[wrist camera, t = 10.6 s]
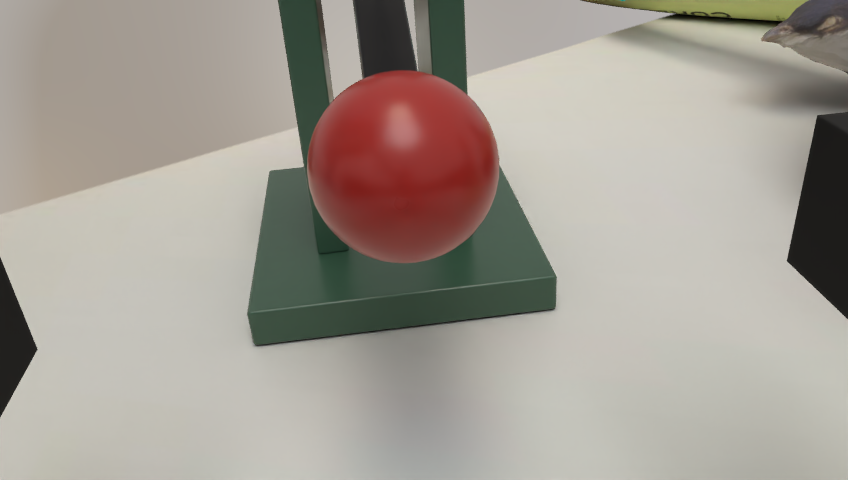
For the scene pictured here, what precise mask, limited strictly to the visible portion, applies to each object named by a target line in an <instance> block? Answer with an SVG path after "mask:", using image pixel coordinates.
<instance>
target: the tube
mask: <svg viewBox="0 0 848 480" xmlns="http://www.w3.org/2000/svg"><path fill="white" fill-rule="evenodd" d="M582 1H586V2H591V3H597V4H603V5H610V6H616V7H624V8H632V9H640V10H649V11H657V12H666V13H676V14H686V15H698V16H711V17H724V18H739V19H754V20H772V21H785V20H786V19H788V18H789V17H790V15H791V14H792V13H793V12H794V11H795V9H796V8H798V7H799V6H801V5H802V4H804V3H805V2H807V1H809V0H625V1H620V0H582Z"/></svg>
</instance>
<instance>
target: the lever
mask: <svg viewBox="0 0 848 480" xmlns="http://www.w3.org/2000/svg"><path fill="white" fill-rule="evenodd" d="M353 5H354V14H355V22H356V29H357V38H358V45H359V54H360V62H361V69H362V77H363V79H362V80H360V81H358V82H356V83H354V84H353V85H351V86H350V87H348V88H347V89H346V90H344V91H343V92H342V93H340V94H339V95H338V96H337V97H336V98H335V99H334V100H333V101H332V102H331V103H330V105H329V106H328V107H327V108H326V110H325V111H324V112H323V114H322V116H321V118H320V119H319V121H318V123H317V125H316V127H315V129H314V132H313V135H312V138H311V141H310V145H309V150H308V158H307V175H308V182H309V188H310V192H311V195H312V198H313V201H314V204H315V206H316V208H317V210H318V212H319V214H320V216H321V217H322V219H323V221H324V222H325V223H326V225H327V226H328V227H329V229H330V230H331V231H332V232H333V233H334V234H335V235H336V236H337V237H338V238H339V239H340V240H341V241H342V242H344V243H345V244H346V245H348V246H349V247H351V248H352V249H354V250H356V251H358V252H359V253H361V254H363V255H365V256H368V257H370V258H373V259H377V260H380V261H385V262H391V263H416V262H421V261H427V260H430V259H434V258H437V257H439V256H441V255H444V254H446V253H448V252H450V251H451V250H453V249H455V248H456V247H457V246H459V245H460V244H462V243H463V242H464V241H466V240H467V239H468V238H469V237H470V236H471V235H472V234H473V233H474V232H475V231H476V229H477V228H478V227H479V225H480V224H481V223H482V222H483V220H484V219H485V217H486V215H487V213H488V212H489V210H490V207H491V205H492V203H493V200H494V197H495V195H496V190H497V185H498V180H499V155H498V149H497V144H496V140H495V137H494V134H493V131H492V129H491V126H490V124H489V122H488V121H487V119H486V117H485V115H484V114H483V112H482V111H481V110H480V108H479V107H478V106H477V104H476V103H475V102H474V101H473V100H472V99H471V98H470V97H469V96H468V95H467V94H466V93H465V92H463V91H462V90H461V89H459V88H458V87H457V86H455V85H453V84H452V83H450V82H448V81H446V80H444V79H442V78H440V77H437V76H435V75H432V74H428V73H424V72H419V71H417V66H416V60H415V55H414V50H413V45H412V39H411V34H410V28H409V23H408V18H407V13H406V7H405V2H404V0H353Z"/></svg>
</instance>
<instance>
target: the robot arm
mask: <svg viewBox="0 0 848 480" xmlns="http://www.w3.org/2000/svg"><path fill="white" fill-rule="evenodd" d="M787 262H788V263H790V264H791V265H792V266H793V267H794V268H795V269H796V270H797V271H798V272H799V273H800V274H801V275H802V276H803V277H804V278H805V279H806V280H807V281H808V282H809V283H810V284H812V285H813V286H814V287H815V288H816V289H817V290H818V291H819V292H820V293H821V294H822V295H823V296H824V297H825V298H826V299H827V300H828V301H829V302H830V303H831V304H832V305H834V306H835V307H836V308H837V309H838V310H839V311H840V312H841V313H842V314H843V315H844V316H845V317H846V318H847V319H848V112H845V113H835V114H826V115H817V119H816V124H815V129H814V134H813V139H812V143H811V148H810V153H809V158H808V163H807V167H806V172H805V177H804V182H803V186H802V191H801V196H800V201H799V206H798V210H797V215H796V220H795V225H794V230H793V234H792V239H791V244H790V249H789V254H788V258H787ZM36 351H37V347H36V344H35V342H34V340H33V337H32V335H31V332H30V330H29V327H28V325H27V322H26V320H25V317H24V315H23V312H22V310H21V307H20V305H19V302H18V300H17V298H16V295H15V293H14V290H13V288H12V285H11V283H10V280H9V278H8V275H7V273H6V270H5V268H4V265H3V263H2V260H1V258H0V417H1V415H2V413H3V411H4V409H5V408H6V406H7V404H8V402H9V400H10V399H11V397H12V395H13V393H14V391H15V389H16V388H17V386H18V384H19V382H20V380H21V378H22V377H23V375H24V373H25V371H26V369H27V368H28V366H29V364H30V362H31V360H32V358H33V357H34V355H35V353H36Z"/></svg>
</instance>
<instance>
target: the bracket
mask: <svg viewBox="0 0 848 480" xmlns="http://www.w3.org/2000/svg"><path fill="white" fill-rule="evenodd" d="M278 3H279V10H280V16H281V23H282V29H283V35H284V42H285V48H286V54H287V61H288V67H289V73H290V80H291V86H292V92H293V99H294V105H295V112H296V118H297V124H298V131H299V137H300V143H301V150H302V156H303V162H304V167H302V168H292V169H283V170H274V171H270V172H269V178H268V184H267V191H266V197H265V204H264V210H263V216H262V223H261V229H260V236H259V242H258V248H257V255H256V261H255V268H254V274H253V280H252V287H251V293H250V299H249V306H248V312H247V315H248V319H249V324H250V328H251V333H252V337H253V342H254V344H255V345H262V344H270V343H278V342H286V341H294V340H303V339H311V338H319V337H327V336H335V335H344V334H352V333H360V332H368V331H376V330H385V329H393V328H401V327H409V326H417V325H425V324H434V323H442V322H450V321H458V320H466V319H475V318H483V317H491V316H499V315H507V314H515V313H524V312H532V311H540V310H548V309H554V308H555V307H556V280H557V277H556V275H555V273H554V271H553V269H552V267H551V265H550V263H549V261H548V259H547V257H546V255H545V253H544V251H543V249H542V247H541V245H540V243H539V241H538V240H537V238H536V236H535V234H534V232H533V230H532V228H531V226H530V224H529V222H528V220H527V218H526V216H525V214H524V212H523V210H522V208H521V206H520V204H519V202H518V200H517V199H516V197H515V195H514V193H513V191H512V189H511V187H510V185H509V183H508V181H507V179H506V177H505V175H504V173H503V171H502V169H501V167H500V165H499V180H498V185H497V190H496V195H495V197H494V200H493V203H492V205H491V207H490V210H489V212H488V213H487V215H486V217H485V219H484V220H483V222H482V223H481V224H480V225H479V227H478V228H477V229H476V231H475V232H474V233H473V234H472V235H471V236H470V237H469V238H468V239H467V240H466V241H464V242H463V243H462V244H460V245H459V246H457V247H456V248H455V249H453V250H451V251H450V252H448V253H446V254H444V255H441V256H439V257H437V258H434V259H430V260H427V261H421V262H416V263H391V262H385V261H380V260H377V259H373V258H370V257H368V256H365V255H363V254H361V253H359V252H358V251H356V250H354V249H352V248H351V247H349V246H348V245H346V244H345V243H344V242H342V241H341V240H340V239H339V238H338V237H337V236H336V235H335V234H334V233H333V232H332V231H331V230H330V229H329V227H328V226H327V225H326V223H325V222H324V221H323V219H322V217H321V216H320V214H319V212H318V210H317V208H316V206H315V204H314V201H313V198H312V195H311V192H310V188H309V182H308V175H307V158H308V150H309V145H310V141H311V138H312V135H313V132H314V129H315V127H316V125H317V123H318V121H319V119H320V118H321V116H322V114H323V112H324V111H325V110H326V108H327V107H328V106H329V105H330V103H331V102H332V101H333V100H334V99H333V90H332V82H331V75H330V67H329V59H328V53H327V52H328V51H327V44H326V36H325V28H324V21H323V13H322V5H321V0H278ZM414 11H415V26H416V40H417V55H418V68H419V72H424V73H428V74H432V75H435V76H437V77H440V78H442V79H444V80H446V81H448V82H450V83H452V84H453V85H455V86H457V87H458V88H459V89H461V90H462V91H463V92H465V93H466V94H467V71H466V45H465V44H466V43H465V15H464V0H414Z"/></svg>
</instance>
